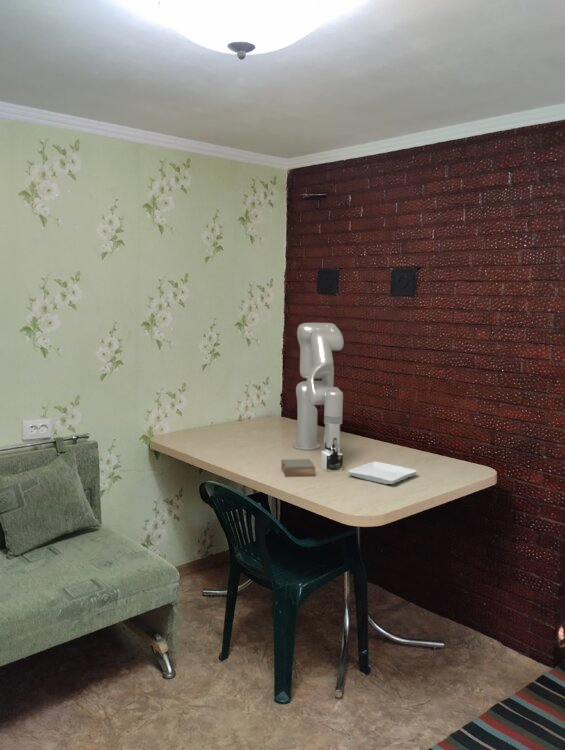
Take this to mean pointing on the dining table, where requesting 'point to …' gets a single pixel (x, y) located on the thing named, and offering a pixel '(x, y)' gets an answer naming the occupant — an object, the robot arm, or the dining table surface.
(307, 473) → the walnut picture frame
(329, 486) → the dining table surface
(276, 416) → the dining table surface
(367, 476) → the salad plate
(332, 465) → the medicine bottle
